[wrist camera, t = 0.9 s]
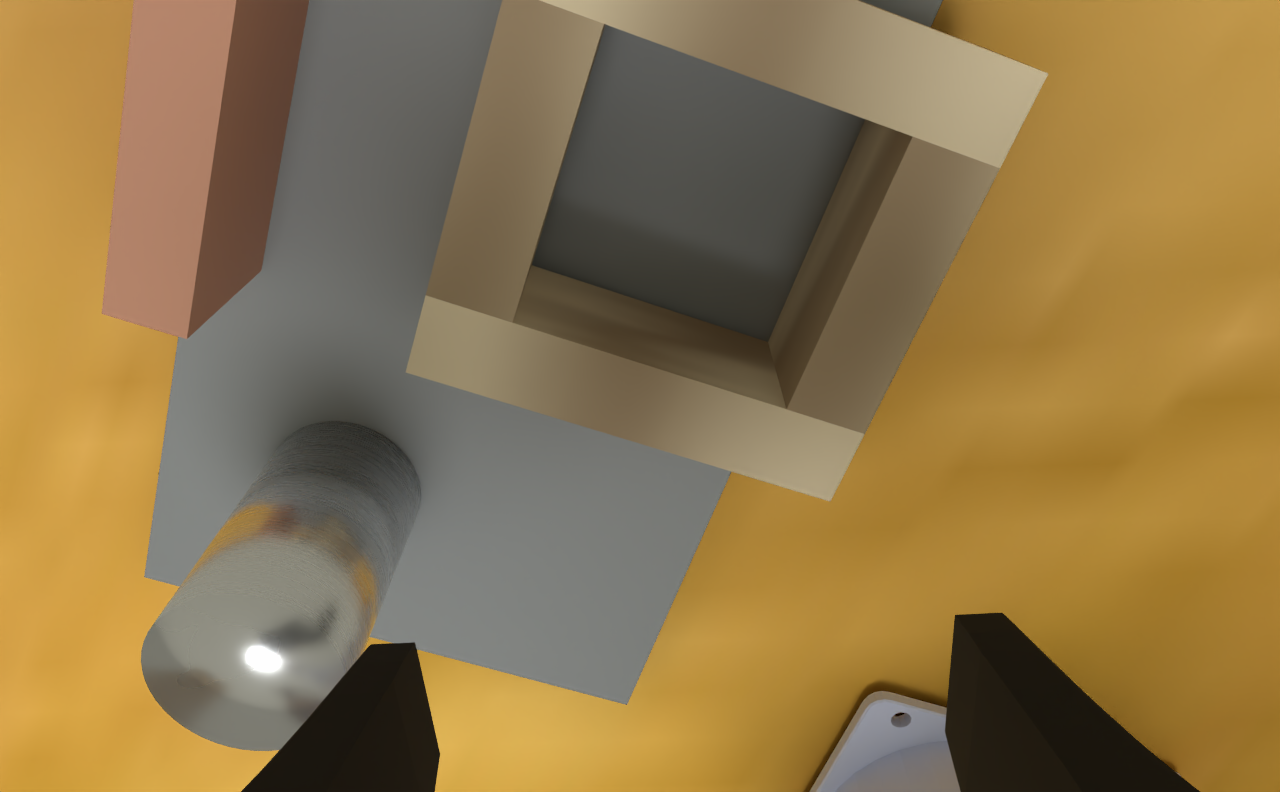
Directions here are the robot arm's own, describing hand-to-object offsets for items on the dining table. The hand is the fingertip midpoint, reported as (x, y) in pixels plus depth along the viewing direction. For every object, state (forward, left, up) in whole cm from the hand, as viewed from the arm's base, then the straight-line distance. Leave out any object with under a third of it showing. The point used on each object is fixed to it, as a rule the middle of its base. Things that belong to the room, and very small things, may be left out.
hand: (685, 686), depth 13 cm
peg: (+6, +4, -9) cm, 11 cm away
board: (+4, -1, -10) cm, 10 cm away
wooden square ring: (+1, -5, -8) cm, 9 cm away
